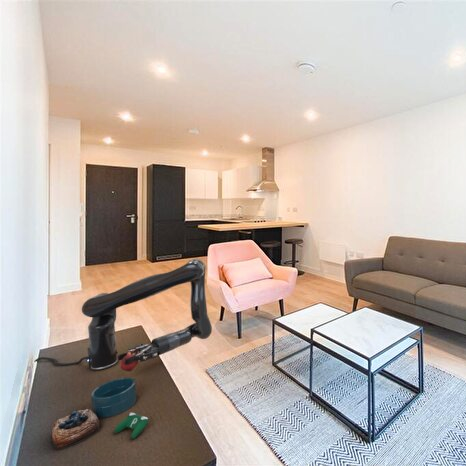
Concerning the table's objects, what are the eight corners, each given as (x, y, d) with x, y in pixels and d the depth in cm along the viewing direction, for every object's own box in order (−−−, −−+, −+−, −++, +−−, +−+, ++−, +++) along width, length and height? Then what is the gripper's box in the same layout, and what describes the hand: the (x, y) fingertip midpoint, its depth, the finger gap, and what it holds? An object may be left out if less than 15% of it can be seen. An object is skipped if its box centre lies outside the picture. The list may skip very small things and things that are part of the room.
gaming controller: (141, 440, 93) (153, 419, 96) (131, 438, 90) (144, 416, 94) (121, 433, 96) (133, 412, 99) (111, 431, 93) (125, 410, 97)
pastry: (94, 415, 102) (93, 399, 101) (102, 431, 94) (101, 414, 94) (49, 433, 93) (48, 416, 93) (54, 453, 86) (52, 435, 85)
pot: (83, 416, 101) (81, 397, 100) (114, 394, 113) (112, 377, 112) (116, 418, 100) (115, 399, 99) (144, 395, 112) (143, 378, 112)
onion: (129, 376, 116) (127, 356, 115) (117, 374, 117) (115, 355, 116) (142, 368, 122) (140, 349, 121) (130, 366, 123) (129, 348, 122)
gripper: (157, 331, 134) (113, 346, 120) (174, 339, 127) (128, 356, 112) (158, 347, 135) (114, 363, 121) (175, 355, 127) (130, 374, 113)
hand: (121, 360), depth 117 cm, fingers closed on onion, 5 cm apart
